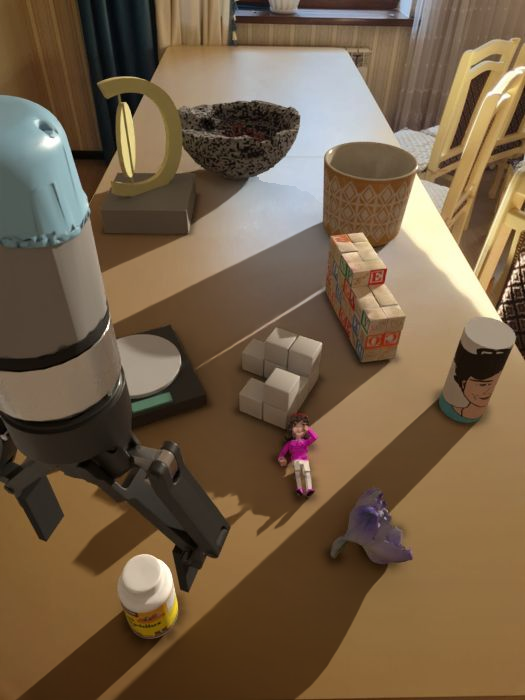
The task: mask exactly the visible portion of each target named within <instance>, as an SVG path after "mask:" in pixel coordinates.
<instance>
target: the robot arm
mask: <svg viewBox="0 0 525 700" xmlns="http://www.w3.org/2000/svg"><path fill="white" fill-rule="evenodd" d="M88 200H89V199H88V196H87V194H86V192H85V191H84V190H83V186H82V183H81V180H80V177H79V174H78V170H77V167H76V163H75V159H74V157H73V154H72V149H71V146H70V143H69V140H68V136H67V134H66V131H65V129H64V127H63V125H62V123H61V122H60V121H59V120H58V119H57V117H56V116H55V115H54V114H53V113H52V112H51V111H50V110H48V109H47V108H45V107H44V106H43V105H41V104H39V103H36V102H34V101H32V100H29V99H27V98H23V97H19V96H14V95H8V94H7V95H6V94H0V483H2V484H4V485H3V488H4V490H5V491H6V492H7V493H8V494H11V495H12V496H14V497H15V499H16V501H17V503H18V505H19V506H20V507H21V508H22V510H23V512H24V514H26V515H25V516H26V517H27V519H28V521H29V522H30V525H31V526H32V528H33V530H34V532H35V534H36V536H37V538H38V540H41V541H43V542H46V543H47V542H48V541H49V539H50V538H51V536H52V535H53V533H54V532H55V530H56V529H57V528H58V526H59V524H60V523H61V521H62V520H63V519H64V517H65V514H64V511H63V509H62V507H61V505H60V502H59V500H58V498H57V496H56V494H55V491H54V489H53V487H52V484H51V482H50V480H49V478H48V476H47V475H48V474H49V473H50V472H54V471H55V470H56V469H57V470H59V471H60V472H61V473H63V474H64V476H67V477H70V478H73V479H79V480H83V481H85V482H86V483H89V484H91V485H94V486H97V487H98V488H99V490H101V491H102V492H104V493H105V494H106V495H107V496H108V497H109V498H110V499H112V500H113V501H114V502H115V503H117V504H118V503H119V504H121V503H124V502H126V503H127V504H128V505H129V506H130V507H131V508H133V509H134V510H135V511H136V512H137V513H138V514H140V515H141V517H143V518H145V520H147V522H149V523H150V524H151V525H152V526H153V527H154V528H156V529H157V531H159V532H160V533H161V534H163V535H164V536H165V537H166V538H167V539H169V540H170V541H171V542H172V543H173V544H174V546H173V549H172V551H171V553H172V557H173V563H174V567H175V572H176V577H177V581H178V586H179V590H180V591H182V592H185V593H190V590H191V588H192V586H193V584H194V582H195V579H196V577H197V575H198V573H199V571H201V570H202V569H203V566H204V564H205V561H206V559H207V557H208V558H211V559H218V558H220V554H221V552H222V550H223V547H224V545H225V543H226V540H227V538H228V535H229V533H230V530H231V528H232V526H231V525H230V522H228V520H227V519H226V517H225V516H224V515H223V514H222V512H221V511H220V510H219V508H218V506H217V505H216V504H215V502H213V500H212V499H211V497H210V496H209V495H208V493H207V492H206V490H205V489H204V488H203V487H202V485H201V483H199V481H198V480H197V478H196V477H195V476H194V474H193V473H192V472H191V470H190V469H189V468H188V466H187V465H186V463H185V460H184V456H183V453H182V450H181V447H180V445H178V444H177V443H176V442H174V441H172V440H164V441H163V443H162V445H161V447H160V448H159V449H158V448H154V447H150V446H145V445H142V443H141V441H140V440H139V439H138V437H137V436H136V435H135V434H134V432H133V431H132V429H131V418H132V404H131V399H130V395H129V390H128V386H127V382H126V378H125V373H124V369H123V367H122V365H121V358H120V353H119V349H118V345H117V341H116V339H117V337H116V332H115V329H114V324H113V319H112V316H111V311H110V306H109V301H108V298H107V294H106V290H105V285H104V281H103V275H102V272H101V271H102V270H101V266H100V261H99V257H98V251H97V247H96V242H95V236H94V232H93V227H92V222H91V218H90V216H91V209H90V203H89V201H88ZM18 451H19V452H20V454H22V455H23V456H25V459H24V460H23V461H22V463H21V464H18V463H17V462H15V460H16V458H17V457H16V456H17V454H18V453H17V452H18ZM126 473H128V474H127V475H126V476H125V478H124V480H123V482H122V483H121V484H120V483H119V482H117V480H119V479H120V478H121V477H123V476H124V475H125V474H126Z"/></svg>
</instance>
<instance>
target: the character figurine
mask: <svg viewBox="0 0 525 700" xmlns="http://www.w3.org/2000/svg"><path fill="white" fill-rule="evenodd" d="M318 438H319V436H318V435H317V434H316V433H315V432H314V431H313V429H312V428H311V427H310V420H309V416H308V415H307V414H306V413H303V412H300V413H299V412H297V413H296V414H293V415H292V416H290V421H289V424H288V426H287V429H286V435H285V434H284V436H283V440H284V442H285V443H284V446H283V447H282V450H281V452H280V453H279V455H278V457H277V461H278V463H279V464H280V467H284V466H285V467H286V466H287V463H288V461H287V458H285V456H286V455H287V452H288V451H289V454H290V455H291V456H290V460H289V465H291V467H292V468H294V473H295V480H296V486H297V488H296V489H295V493H296V494H297V495H298V497H303V496H304V491H303V486H302V479H301V475H302V476H303V477H304V486H305V495H306V497H309V498H310V497H312V496H313V495H314V493H315V491H316V490H315V488H312V487H313V486H312V475H311V468H310V462H309V458H308V455H307V454H308V452H309V447H310V446H311V445H312V444H313V443H314V442H316V441H317V440H318Z"/></svg>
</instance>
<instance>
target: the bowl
mask: <svg viewBox="0 0 525 700" xmlns="http://www.w3.org/2000/svg"><path fill="white" fill-rule="evenodd" d="M177 111H178V114H179V117H180V121H181V127H182V149H184V152H186V154H188V156H189V157H190V158H191V159H192V160H193V161H194V162H195V164H197V165H198V166H200V168H203V170H205V171H207V172H210V173H212V174H215V175H217V176H220V177H223V178H228V179H236V180H242V179H243V180H244V179H249V178H254V177H256V176H259V175H261V174H263V173H266V172H268V171H269V170H271V169H273V168H275V166H276V165H277V164H279V163H280V162H281V161H282V160H283V159H284V158H285V157H286V156H287V154H288V153H289V152H290V150H291V149H292V146H293V145H294V143H295V142H296V140H297V137H298V134H299V131H300V128H301V114H300V112H299V110H297V109H296V108H295V107H293V106H288V107H287V106H283V105H279V104H276V103H274V102H273V103H272V102H269V101H265V100H257V99H254V100H251V101H247V100H236V101H232V102H222V103H221V102H219V103H214V104H200V105H197V106H193V107H191V106H187V105H183V106H180V107H179V108H177Z"/></svg>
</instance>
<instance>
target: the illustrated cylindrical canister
mask: <svg viewBox="0 0 525 700" xmlns="http://www.w3.org/2000/svg"><path fill="white" fill-rule="evenodd" d="M516 340H517V337H516V333H515V331H514V330H513V328H512V327H510V326H509V325H508V324H507V323H505V322H504V321H501V320H499V319H496V318H493V317H488V316H487V317H486V316H478V317H477V316H476V317H474V318H470V319H469V320H468V321H466V322H465V325H464V327H463V330H462V333H461V336H460V338H459V341H458V344H457V347H456V350H455V353H454V356H453V359H452V362H451V365H450V368H449V369H448V370H449V371H448V374H447V375H446V379H445V382H444V385H443V387H442V391H441V393H440V396H439V399H438V406H439V408H440V410H441V411H442V412H443V414H444V415H446V416H447V417H448V418H450V419H451V420H454V421H456V422H459V423H463V424H464V423H465V424H467V423H468V424H469V423H475V422H477V421H479V420H481V418H482V417H483V416H484V413H485V412H486V409H487V407H488V405H489V403H490V400H491V397H492V396H493V393H494V391H495V388H496V386H497V384H498V382H499V379H500V377H501V375H502V373H503V371H504V369H505V365H506V363H507V362H508V359H509V356H510V355H511V352H512V350H513V348H514V346H515V342H516Z"/></svg>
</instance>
